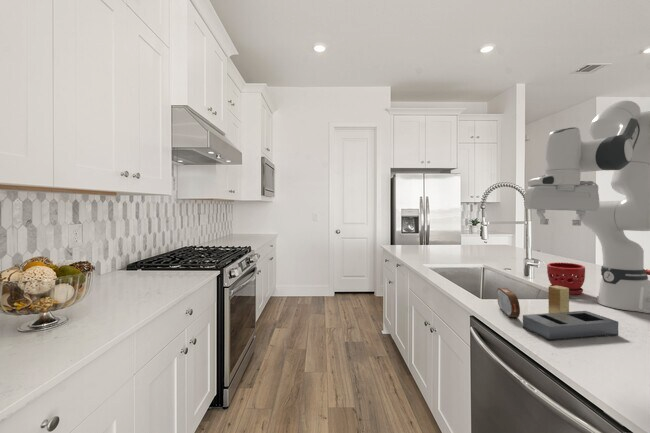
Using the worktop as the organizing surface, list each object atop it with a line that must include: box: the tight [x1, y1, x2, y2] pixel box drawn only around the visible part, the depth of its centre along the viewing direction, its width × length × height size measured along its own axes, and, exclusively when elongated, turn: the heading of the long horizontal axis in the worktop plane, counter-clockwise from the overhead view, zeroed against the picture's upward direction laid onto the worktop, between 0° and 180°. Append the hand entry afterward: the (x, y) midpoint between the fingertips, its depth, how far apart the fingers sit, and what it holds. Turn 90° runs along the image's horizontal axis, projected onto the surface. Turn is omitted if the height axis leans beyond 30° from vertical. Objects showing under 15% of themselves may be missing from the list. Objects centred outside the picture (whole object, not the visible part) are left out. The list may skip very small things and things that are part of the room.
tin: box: [496, 286, 521, 318], centre depth 112 cm, size 15×3×8 cm, turn 168°
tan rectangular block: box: [547, 285, 570, 313], centre depth 108 cm, size 4×4×10 cm
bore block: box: [522, 310, 619, 342], centre depth 95 cm, size 22×10×4 cm, turn 97°
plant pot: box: [546, 262, 586, 296], centre depth 137 cm, size 13×13×12 cm
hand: (560, 225), depth 98 cm, fingers open, 8 cm apart
